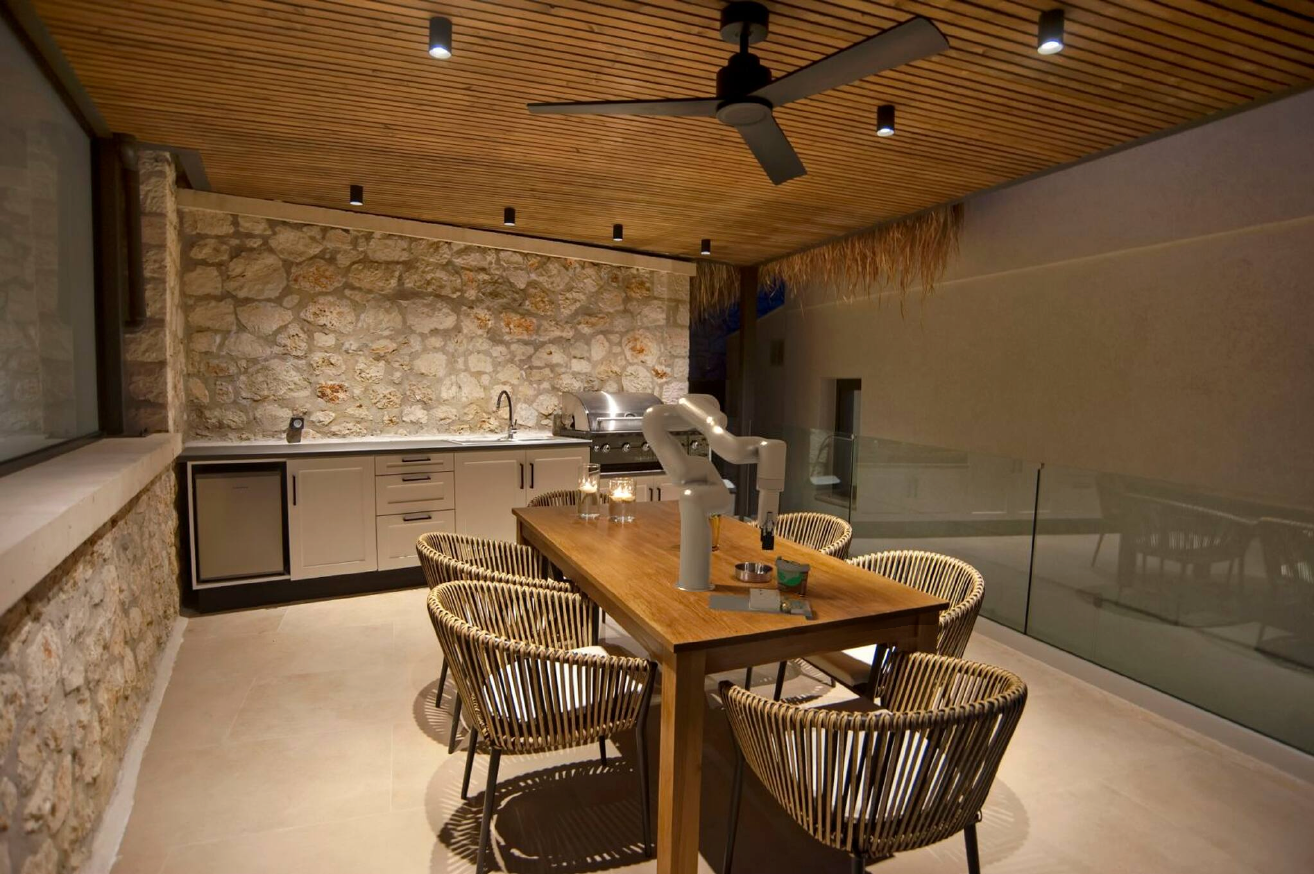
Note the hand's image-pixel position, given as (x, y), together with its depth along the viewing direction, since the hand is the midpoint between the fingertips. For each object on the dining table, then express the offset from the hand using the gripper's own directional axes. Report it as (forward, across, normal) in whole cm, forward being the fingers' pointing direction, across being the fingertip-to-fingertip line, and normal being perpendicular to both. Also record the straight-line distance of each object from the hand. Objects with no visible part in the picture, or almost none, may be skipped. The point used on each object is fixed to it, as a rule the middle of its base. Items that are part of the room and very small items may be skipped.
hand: (766, 545), depth 195 cm
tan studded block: (+17, 0, 0) cm, 17 cm away
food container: (+19, -19, +8) cm, 28 cm away
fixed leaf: (+17, 0, +9) cm, 19 cm away
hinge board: (+18, -2, -1) cm, 18 cm away
